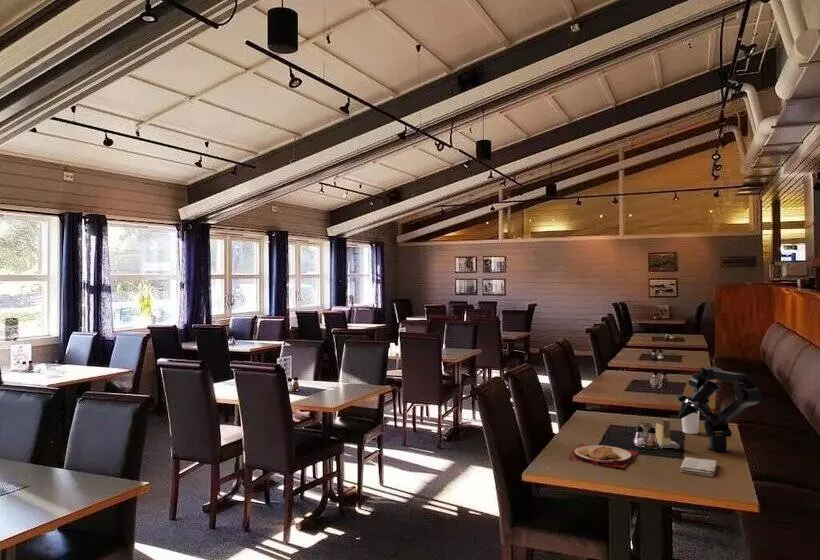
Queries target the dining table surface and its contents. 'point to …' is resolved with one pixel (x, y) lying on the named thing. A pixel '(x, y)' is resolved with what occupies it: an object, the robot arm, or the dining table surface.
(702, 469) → the washcloth
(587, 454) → the plate with food
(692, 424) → the white cup
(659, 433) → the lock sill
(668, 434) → the block
